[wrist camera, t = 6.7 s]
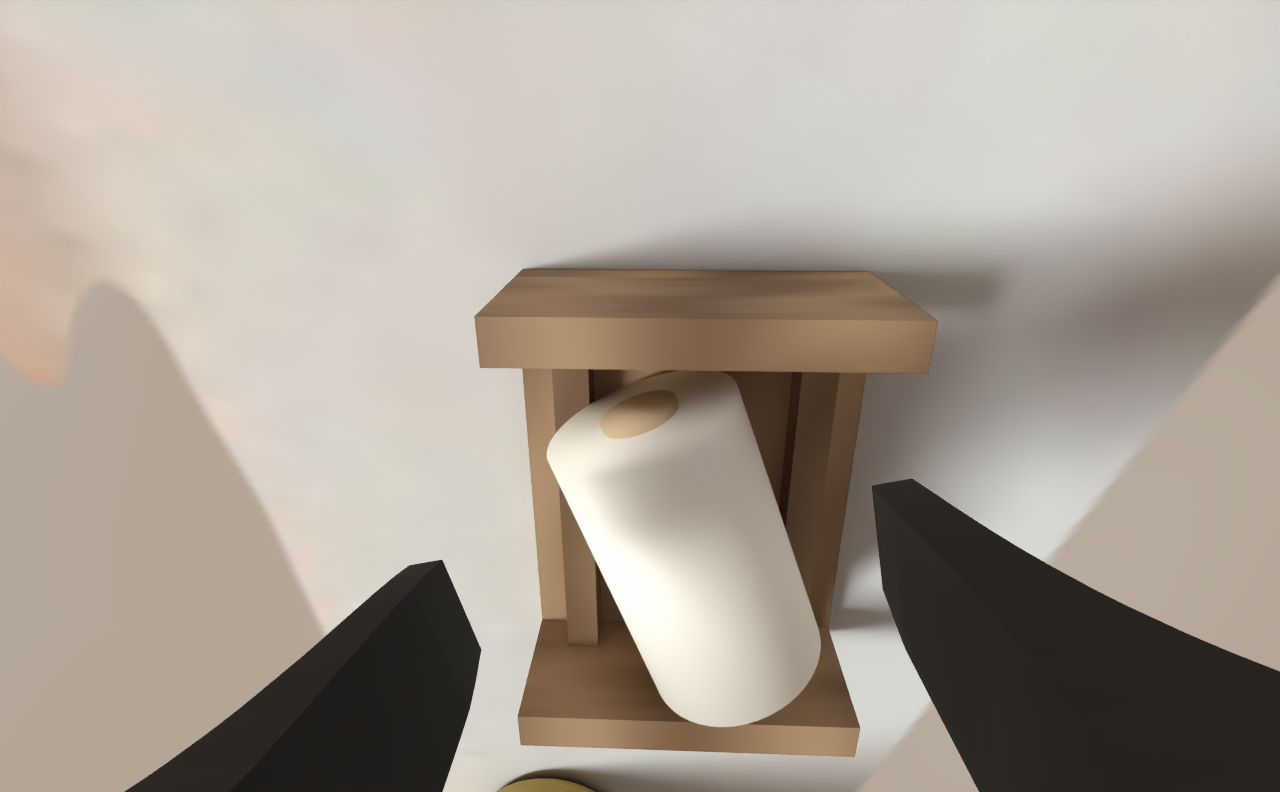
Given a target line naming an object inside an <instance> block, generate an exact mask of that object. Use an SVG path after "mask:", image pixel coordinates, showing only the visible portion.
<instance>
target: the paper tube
mask: <svg viewBox="0 0 1280 792" xmlns="http://www.w3.org/2000/svg"><path fill="white" fill-rule="evenodd" d="M497 792H595V791H593V790H591V789H589V788H587V787H585V786H582V785H580V784H577V783H574V782H570V781H566V780H560V779H552V778H539V779H529V780H523V781H519V782H516V783H513V784H510V785H508V786H506V787H504V788H502V789H500V790H499V791H497Z"/></svg>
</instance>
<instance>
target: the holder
mask: <svg viewBox="0 0 1280 792" xmlns="http://www.w3.org/2000/svg"><path fill="white" fill-rule="evenodd" d="M474 317H475V326H476V335H477V344H478V354H479V363H480V368H522V369H523V382H524V394H525V407H526V420H527V432H528V445H529V457H530V470H531V482H532V495H533V507H534V520H535V532H536V545H537V557H538V570H539V582H540V595H541V607H542V623H541V627H540V631H539V635H538V639H537V643H536V647H535V651H534V655H533V658H532V662H531V666H530V670H529V674H528V678H527V682H526V686H525V690H524V694H523V698H522V702H521V706H520V710H519V714H518V724H519V733H520V742H521V745H534V746H563V747H591V748H619V749H647V750H675V751H703V752H731V753H759V754H787V755H816V756H844V757H855V753H856V748H857V742H858V737H859V732H860V726H859V723H858V720H857V717H856V713H855V710H854V707H853V704H852V701H851V698H850V695H849V692H848V689H847V685H846V682H845V679H844V676H843V673H842V670H841V667H840V664H839V660H838V657H837V654H836V651H835V648H834V645H833V642H832V639H831V636H830V632H829V629H828V623H829V616H830V609H831V603H832V596H833V589H834V583H835V576H836V569H837V563H838V556H839V549H840V543H841V536H842V529H843V523H844V516H845V509H846V503H847V496H848V489H849V483H850V476H851V469H852V463H853V456H854V449H855V442H856V436H857V429H858V422H859V416H860V409H861V402H862V396H863V389H864V382H865V376H866V373H921V374H928V371H929V366H930V361H931V356H932V350H933V345H934V340H935V335H936V330H937V324H938V321H937V320H936V319H935V318H933V317H932V316H930V315H929V314H928V313H926V312H925V311H923V310H922V309H921V308H919V307H918V306H916V305H915V304H914V303H912V302H911V301H909V300H908V299H907V298H905V297H904V296H902V295H901V294H900V293H898V292H897V291H895V290H894V289H893V288H891V287H890V286H888V285H887V284H886V283H884V282H883V281H881V280H880V279H879V278H877V277H876V276H874V275H873V274H872V273H870V272H847V271H705V270H562V269H522V270H521V271H520V272H519V273H518V274H517V275H516V276H515V277H514V278H513V279H512V280H511V281H510V282H509V283H508V284H507V285H506V286H505V287H504V288H503V289H502V290H501V291H500V292H499V293H498V294H497V295H496V296H495V297H494V298H493V299H492V300H491V301H490V302H489V303H488V304H487V305H486V306H485V307H484V308H483V309H482V310H481V311H480V312H479V313H478V314H477V315H476V316H474ZM681 370H690V371H720V372H723V373H726V374H728V375H729V376H731V377H732V378H733V379H734V380H735V381H736V383H737V385H738V388H739V391H740V394H741V397H742V400H743V403H744V406H745V409H746V412H747V415H748V418H749V421H750V424H751V427H752V430H753V433H754V436H755V439H756V442H757V445H758V448H759V451H760V454H761V457H762V460H763V463H764V466H765V469H766V472H767V475H768V478H769V481H770V484H771V487H772V490H773V493H774V496H775V499H776V502H777V505H778V508H779V511H780V514H781V517H782V520H783V523H784V526H785V529H786V532H787V535H788V538H789V542H790V545H791V548H792V551H793V554H794V557H795V560H796V563H797V566H798V569H799V572H800V575H801V578H802V581H803V584H804V587H805V590H806V593H807V596H808V599H809V602H810V605H811V608H812V611H813V614H814V617H815V620H816V623H817V626H818V629H819V633H820V639H821V650H820V657H819V661H818V665H817V667H816V669H815V672H814V674H813V676H812V678H811V679H810V681H809V682H808V684H807V685H806V687H805V688H804V689H803V690H802V691H801V693H800V694H799V695H798V696H797V697H796V698H795V699H793V700H792V701H791V702H790V703H789V704H787V705H786V706H785V707H783V708H782V709H781V710H779V711H777V712H775V713H774V714H772V715H770V716H768V717H766V718H763V719H761V720H759V721H755V722H752V723H749V724H745V725H739V726H734V727H712V726H706V725H701V724H697V723H694V722H691V721H689V720H687V719H685V718H683V717H681V716H679V715H678V714H677V713H675V712H674V711H673V710H672V709H671V708H670V707H669V706H668V705H667V704H666V703H665V702H664V700H663V699H662V697H661V695H660V693H659V691H658V689H657V687H656V685H655V683H654V681H653V679H652V677H651V675H650V673H649V670H648V668H647V666H646V664H645V662H644V660H643V658H642V656H641V654H640V652H639V650H638V648H637V645H636V643H635V641H634V639H633V637H632V635H631V633H630V631H629V629H628V627H627V625H626V623H625V621H624V618H623V616H622V614H621V612H620V610H619V608H618V606H617V604H616V602H615V600H614V598H613V596H612V593H611V591H610V589H609V587H608V585H607V583H606V581H605V579H604V577H603V575H602V573H601V571H600V569H599V566H598V564H597V562H596V560H595V558H594V556H593V554H592V552H591V550H590V548H589V546H588V544H587V541H586V539H585V537H584V535H583V533H582V531H581V529H580V527H579V525H578V523H577V521H576V519H575V516H574V514H573V512H572V510H571V508H570V506H569V504H568V502H567V500H566V498H565V496H564V494H563V492H562V489H561V487H560V485H559V483H558V481H557V479H556V477H555V475H554V473H553V471H552V469H551V467H550V464H549V462H548V460H547V449H548V446H549V443H550V441H551V440H552V438H553V436H554V435H555V434H556V432H557V431H558V430H559V429H560V428H561V427H562V426H563V425H564V424H565V423H566V422H567V421H568V420H569V419H570V418H572V417H573V416H574V415H575V414H577V413H578V412H579V411H581V410H582V409H583V408H585V407H587V406H588V405H590V404H591V403H593V402H595V401H596V400H598V399H600V398H602V397H603V396H605V395H607V394H609V393H611V392H613V391H616V390H618V389H620V388H622V387H625V386H627V385H629V384H632V383H635V382H637V381H640V380H643V379H646V378H650V377H653V376H657V375H661V374H665V373H669V372H674V371H681Z"/></svg>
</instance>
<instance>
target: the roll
mask: <svg viewBox="0 0 1280 792" xmlns="http://www.w3.org/2000/svg"><path fill="white" fill-rule="evenodd" d="M547 460H548V462H549V464H550V467H551V469H552V471H553V473H554V475H555V477H556V479H557V481H558V483H559V485H560V487H561V489H562V492H563V494H564V496H565V498H566V500H567V502H568V504H569V506H570V508H571V510H572V512H573V514H574V516H575V519H576V521H577V523H578V525H579V527H580V529H581V531H582V533H583V535H584V537H585V539H586V541H587V544H588V546H589V548H590V550H591V552H592V554H593V556H594V558H595V560H596V562H597V564H598V566H599V569H600V571H601V573H602V575H603V577H604V579H605V581H606V583H607V585H608V587H609V589H610V591H611V593H612V596H613V598H614V600H615V602H616V604H617V606H618V608H619V610H620V612H621V614H622V616H623V618H624V621H625V623H626V625H627V627H628V629H629V631H630V633H631V635H632V637H633V639H634V641H635V643H636V645H637V648H638V650H639V652H640V654H641V656H642V658H643V660H644V662H645V664H646V666H647V668H648V670H649V673H650V675H651V677H652V679H653V681H654V683H655V685H656V687H657V689H658V691H659V693H660V695H661V697H662V699H663V700H664V702H665V703H666V704H667V705H668V706H669V707H670V708H671V709H672V710H673V711H674V712H675V713H677V714H678V715H679V716H681V717H683V718H685V719H687V720H689V721H691V722H694V723H697V724H701V725H706V726H712V727H734V726H739V725H745V724H749V723H752V722H755V721H759V720H761V719H763V718H766V717H768V716H770V715H772V714H774V713H775V712H777V711H779V710H781V709H782V708H783V707H785V706H786V705H787V704H789V703H790V702H791V701H792V700H793V699H795V698H796V697H797V696H798V695H799V694H800V693H801V691H802V690H803V689H804V688H805V687H806V685H807V684H808V682H809V681H810V679H811V678H812V676H813V674H814V672H815V669H816V667H817V665H818V661H819V657H820V650H821V639H820V633H819V629H818V626H817V623H816V620H815V617H814V614H813V611H812V608H811V605H810V602H809V599H808V596H807V593H806V590H805V587H804V584H803V581H802V578H801V575H800V572H799V569H798V566H797V563H796V560H795V557H794V554H793V551H792V548H791V545H790V542H789V538H788V535H787V532H786V529H785V526H784V523H783V520H782V517H781V514H780V511H779V508H778V505H777V502H776V499H775V496H774V493H773V490H772V487H771V484H770V481H769V478H768V475H767V472H766V469H765V466H764V463H763V460H762V457H761V454H760V451H759V448H758V445H757V442H756V439H755V436H754V433H753V430H752V427H751V424H750V421H749V418H748V415H747V412H746V409H745V406H744V403H743V400H742V397H741V394H740V391H739V388H738V385H737V383H736V381H735V380H734V379H733V378H732V377H731V376H729V375H728V374H726V373H723V372H720V371H690V370H681V371H674V372H669V373H665V374H661V375H657V376H653V377H650V378H646V379H643V380H640V381H637V382H635V383H632V384H629V385H627V386H625V387H622V388H620V389H618V390H616V391H613V392H611V393H609V394H607V395H605V396H603V397H602V398H600V399H598V400H596V401H595V402H593V403H591V404H590V405H588V406H587V407H585V408H583V409H582V410H581V411H579V412H578V413H577V414H575V415H574V416H573V417H572V418H570V419H569V420H568V421H567V422H566V423H565V424H564V425H563V426H562V427H561V428H560V429H559V430H558V431H557V432H556V434H555V435H554V436H553V438H552V440H551V441H550V443H549V446H548V449H547Z"/></svg>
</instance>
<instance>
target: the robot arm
mask: <svg viewBox="0 0 1280 792" xmlns="http://www.w3.org/2000/svg"><path fill="white" fill-rule="evenodd" d="M872 493H873V502H874V511H875V520H876V530H877V539H878V548H879V558H880V567H881V576H882V585H883V591H884V593H885V596H886V599H887V601H888V604H889V607H890V610H891V612H892V615H893V618H894V620H895V623H896V626H897V628H898V631H899V633H900V636H901V639H902V641H903V644H904V646H905V649H906V651H907V653H908V655H909V657H910V659H911V661H912V663H913V665H914V667H915V669H916V671H917V672H918V674H919V676H920V678H921V680H922V682H923V684H924V686H925V688H926V690H927V692H928V694H929V696H930V698H931V700H932V702H933V704H934V706H935V707H936V709H937V711H938V713H939V715H940V717H941V719H942V721H943V723H944V725H945V727H946V729H947V731H948V733H949V734H950V736H951V738H952V740H953V742H954V744H955V746H956V748H957V750H958V752H959V754H960V756H961V757H962V759H963V761H964V763H965V765H966V767H967V769H968V771H969V773H970V775H971V777H972V779H973V781H974V783H975V784H976V787H977V788H978V790H979V792H1280V672H1279V671H1277V670H1274V669H1272V668H1269V667H1267V666H1264V665H1262V664H1259V663H1257V662H1254V661H1251V660H1249V659H1247V658H1244V657H1241V656H1239V655H1236V654H1234V653H1231V652H1229V651H1226V650H1224V649H1222V648H1219V647H1217V646H1215V645H1212V644H1210V643H1207V642H1205V641H1203V640H1200V639H1198V638H1196V637H1193V636H1191V635H1189V634H1187V633H1184V632H1182V631H1180V630H1178V629H1175V628H1174V627H1171V626H1169V625H1167V624H1165V623H1163V622H1161V621H1158V620H1156V619H1154V618H1152V617H1150V616H1147V615H1145V614H1143V613H1141V612H1139V611H1137V610H1135V609H1132V608H1130V607H1128V606H1126V605H1124V604H1122V603H1120V602H1118V601H1116V600H1114V599H1112V598H1110V597H1108V596H1106V595H1104V594H1102V593H1100V592H1098V591H1096V590H1094V589H1092V588H1090V587H1088V586H1087V585H1085V584H1083V583H1081V582H1079V581H1077V580H1076V579H1074V578H1072V577H1070V576H1068V575H1066V574H1065V573H1063V572H1061V571H1059V570H1057V569H1055V568H1053V567H1052V566H1050V565H1048V564H1046V563H1044V562H1043V561H1041V560H1039V559H1038V558H1036V557H1034V556H1032V555H1031V554H1029V553H1027V552H1025V551H1024V550H1022V549H1020V548H1019V547H1017V546H1015V545H1014V544H1012V543H1010V542H1009V541H1007V540H1006V539H1004V538H1002V537H1001V536H999V535H997V534H996V533H994V532H993V531H991V530H989V529H988V528H986V527H985V526H983V525H982V524H980V523H978V522H977V521H975V520H974V519H972V518H971V517H969V516H968V515H966V514H965V513H963V512H961V511H960V510H958V509H957V508H955V507H954V506H952V505H951V504H949V503H948V502H946V501H945V500H943V499H942V498H940V497H939V496H937V495H936V494H934V493H933V492H931V491H930V490H928V489H927V488H925V487H924V486H922V485H921V484H919V483H918V482H916V481H915V480H913V479H908V480H902V481H896V482H891V483H885V484H879V485H873V486H872ZM480 654H481V648H480V646H479V643H478V641H477V639H476V636H475V634H474V632H473V629H472V627H471V625H470V623H469V620H468V618H467V616H466V613H465V611H464V609H463V606H462V604H461V602H460V600H459V597H458V595H457V593H456V590H455V588H454V586H453V583H452V581H451V579H450V577H449V574H448V572H447V570H446V567H445V565H444V563H443V561H442V560H438V561H432V562H426V563H421V564H415V565H409V566H408V567H407V568H405V569H404V570H403V571H401V572H400V573H398V574H397V575H396V576H395V577H393V578H392V579H391V580H390V581H388V582H387V583H386V584H385V585H384V586H382V587H381V588H380V589H379V590H378V591H377V592H375V593H374V594H373V595H372V596H371V597H370V598H369V599H367V600H366V601H365V602H364V603H363V604H362V605H361V606H359V607H358V608H357V609H356V610H355V611H354V612H353V613H351V614H350V615H349V616H348V617H347V618H346V619H345V620H344V621H342V622H341V623H340V624H339V625H338V626H337V627H336V628H334V629H333V630H332V631H331V632H330V633H329V634H328V635H326V636H325V637H324V638H323V639H322V640H321V641H320V642H318V644H316V645H315V646H314V647H313V648H312V649H311V650H309V651H308V652H307V653H306V654H305V655H304V656H302V657H301V658H300V659H299V660H298V661H296V662H295V663H294V664H293V665H292V666H290V667H289V668H288V669H287V670H286V671H284V672H283V673H282V674H281V675H280V676H278V677H277V678H276V679H275V680H274V681H272V682H271V683H270V684H269V685H268V686H266V687H265V688H264V689H263V690H262V691H260V692H259V693H258V694H257V695H256V696H254V697H253V698H252V699H251V700H250V701H248V702H247V703H246V704H245V705H243V706H242V707H241V708H240V709H238V710H237V711H236V712H235V713H233V714H232V715H231V716H230V717H228V718H227V719H226V720H224V721H223V722H222V723H220V724H219V725H218V726H217V727H215V728H214V729H213V730H212V731H210V732H209V733H208V734H206V735H205V736H203V737H202V738H201V739H199V740H198V741H196V742H195V743H194V744H192V745H191V746H190V747H188V748H187V749H185V750H184V751H183V752H181V753H180V754H179V755H177V756H176V757H175V758H173V759H172V760H170V761H169V762H168V763H166V764H165V765H163V766H162V767H161V768H159V769H158V770H156V771H155V772H154V773H152V774H151V775H149V776H148V777H146V778H145V779H143V780H142V781H140V782H139V783H137V784H136V785H134V786H132V787H131V788H130V789H128V790H126V791H125V792H442V791H443V788H444V785H445V782H446V779H447V777H448V774H449V771H450V768H451V765H452V762H453V759H454V756H455V753H456V750H457V747H458V744H459V741H460V738H461V735H462V731H463V728H464V725H465V722H466V719H467V716H468V713H469V709H470V705H471V701H472V696H473V691H474V687H475V682H476V676H477V671H478V665H479V659H480Z"/></svg>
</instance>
